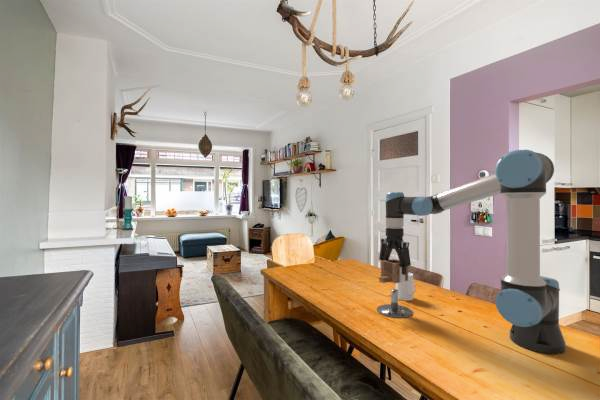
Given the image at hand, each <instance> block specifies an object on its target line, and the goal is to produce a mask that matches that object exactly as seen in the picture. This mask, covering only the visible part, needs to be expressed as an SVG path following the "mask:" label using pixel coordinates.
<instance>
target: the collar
mask: <svg viewBox="0 0 600 400" xmlns="http://www.w3.org/2000/svg"><path fill="white" fill-rule="evenodd" d="M400 266H401V264H400V261H399V259H396V258H389V260H383V261H382V260H380V276H379V277H378V279H379V280H378V281H379V283H382V284H385V283H389V282H390V283H392V284H396V283H399V275H400ZM408 272H409V266H407V267H406V274H405V281H408Z"/></svg>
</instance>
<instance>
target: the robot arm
mask: <svg viewBox="0 0 600 400" xmlns="http://www.w3.org/2000/svg"><path fill="white" fill-rule="evenodd" d="M554 173H555V164H554V163H553V161H552V159H550V157H548V156H547V155H545V154H543V153H541V152H535V151H533V150H530V149H516V150H511V151H509V152H507V153H505V154H503V155H502V156H501V157H500V159H499V160H498V161H497V163H496V164H495V169H494V173H493V174H490V175H487V176H485V177H482V178H481V177H480V178H479V179H476V180H474V181H473V180H472V181H471V182H468V183H465V184H461V185H459V186H457V187H454V188H451V189H447V190H445V191H442V192H440V193H437V194H433V195H431V196H430V195H429V196H405V194H404V192H403V191H402V192H401V191H395V192H394V191H390V192H387V193H386V195H385V227H386V228H385V236H386V237H385V238H381V239H380V243H381V245H380V250H379V258H378V260H379V261H383V260H390V258H391V255H392V251H393V250H395V252H396V254H397V257H398V260H399V261H400V264H401V266H400V275H399V282H405V274H406V267H407V266H408V267H411V266H412V265H411V263H412V262H411V257H410V251H409V250H410V248H409V247H410V242H408V241H404V238H403V237H404V236H405V234H404V231H405V230H404V228H403V227H405V225H404V223H405V222H404V218H405V217H404V215H411V216H418V217H421V216H429V215H437V214H442V212H445V211H447V210H450V209H454V208H456V207H460V206H464V205H468V204H471V203H473V202H476V201H479V200H480V201H481V200H482V199H483V200H484V199H486V198H490V197H494V196H497V195H501V196H502V197H504V198H505V204H506V205H505V209H506V210H505V211H506V212H505V213H506V215H505V216H506V217H505V221H506V222H505V223H506V224H505V225H506V227H505V230H506V234H505V235H506V236H505V238H506V239H505V240H506V243H505V244H506V245H505V246H506V247H505V248H506V251H505V252H506V253H505V254H506V258H505V259H506V260H505V261H506V265H505V266H506V268H505V269H506V270H505V271H506V273H504V274H503V275H502V276H500V291H499V292H498V293H497V295H496V297H495V307H496V309H497V312H498V313H499V315H500V316H502V318H503V320H505V321H507V322H508V323H510V324H512V325H511V327H510V329H509V338H510V340H511V342H513V343H515V344H516V345H517V346H519V347H522V348H524V349H527V350H530V349H531V350H530V351H533V350H535V351H534V352H537V351H538V353H541V352H545V353H544V354H548V353H560V354H562V352H563V353H565V352H566V350H567V349H566V344H567V343H566V341H565V339H564V335H563V332H562V330H561V327H560V323H559V322H560V318H559V317H560V291H561V289H560V283H559V281H558V280H557V279H555V278H551V277H547V276H543V275H542V276H541V212H540V211H541V198H543V197H544V195H546V194H547V183H549V181H550V180H552V178H553V176H554ZM565 349H566V350H565ZM564 351H565V352H564Z"/></svg>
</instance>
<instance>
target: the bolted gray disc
mask: <svg viewBox="0 0 600 400" xmlns="http://www.w3.org/2000/svg"><path fill="white" fill-rule="evenodd" d="M376 311H377V312H378V314H380V315H382V316H385V317H389V318H395V319H406V318H410V317H411V316H413V313H414V312H413V310H412V309H411V308H409V307H407V306H404V305H400V304H399V299H398V290H397V289H396V288H391V289H390V303H387V304H386V303H385V304H382V305H378V306H377V308H376Z"/></svg>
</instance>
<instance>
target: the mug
mask: <svg viewBox="0 0 600 400" xmlns="http://www.w3.org/2000/svg"><path fill="white" fill-rule="evenodd" d="M395 289H397V290H398V301H399V300H400V301H405V302H406V301H413V300H414V299H415V298H414V294H416V291H417V285H416V283H415V281H414V273H411V272H409V271H408V281H405V282H399V283H395Z"/></svg>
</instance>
